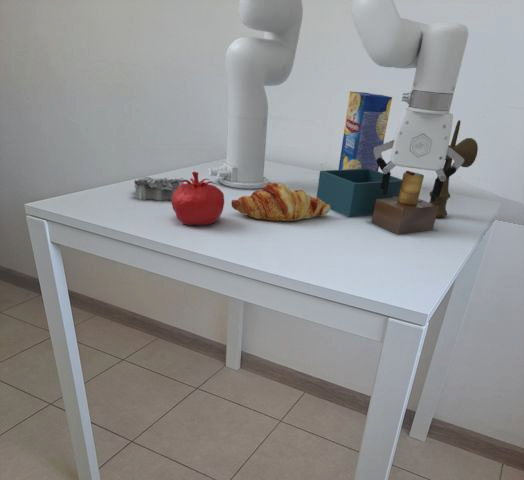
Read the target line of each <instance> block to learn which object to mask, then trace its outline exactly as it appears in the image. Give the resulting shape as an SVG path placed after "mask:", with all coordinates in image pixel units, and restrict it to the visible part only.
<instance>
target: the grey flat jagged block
mask: <svg viewBox="0 0 524 480" xmlns="http://www.w3.org/2000/svg"><path fill="white" fill-rule="evenodd" d="M179 180H180V181H182V180H185V179H184V177H181V178H174V179H173V178H170V179H168V178H167V177H164V178H153V177H149V176H142V177H140V178H138V179H136V180H134V190H135V199H139V200H142V201H146V200H156V201H164V200H169V201H172V196H173V193H174V191H175V190H176V189H177V187H178V186H180V185H182V184H185V182H180V181H179Z"/></svg>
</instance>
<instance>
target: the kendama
mask: <svg viewBox="0 0 524 480" xmlns="http://www.w3.org/2000/svg"><path fill="white" fill-rule="evenodd" d="M460 127H461V120H460V119H459V120H457V122H456V125H455V127H454V131H453V135H452V138H451V142H450V144H449V145H448V147H450V148H451V149H452V150H454V151H455V152H456V153H458V154H459V155H460V156H462V157H463V158H464V163H463V164H462V165H461V166H460V167H462V168H469V167H471V166H472V165H473V164H474V163H475V161H476V158H477V156H478V151H479V146H478V142H477V141H476V140H475V139H474V138H472V137H466V138H465V139H463V140H461V141H460V142H458V143H457V140H458V137H459V133H460ZM452 165H453V159H452V158H450V157H449V156H448V155H446V159H445V162H444V165H443V167H442V169H443V171H445V170H447V169H448V168H449V167H451V166H452ZM449 184H450V177H448V178H447V179H446V180H445V181H443V185H442V189H441V192H440V196H439V197H436V199H435V202H434V201H432V200H431V195H432V191H433V190H431V191H430V192H429V197H430V200H429V203H432V204H435V205H437V206H439V208H438V212H437V215H436V218H444V217H446V216H447V215H448V211H447V202H448V200H449V199H451V194H450V192H449Z"/></svg>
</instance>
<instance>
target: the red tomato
mask: <svg viewBox="0 0 524 480" xmlns="http://www.w3.org/2000/svg"><path fill="white" fill-rule="evenodd" d="M191 173H192V176H193V177H190V178H189V180H188V179H184V180H182V181H180V180H179V181H180V182H184V184H182V185H180V186H178V187H177V189H176V190H175V191H174V193H173V196H172V200H171V206H172V210H173V211H174V213H175V216H176V218H177V220H178V221H179V222H180V223H181V224H184V225H189V226H202V225H203V226H205V225H212V224H214V223H215V222H217V221H218V220H219V219H220V217H221V215H222V213H223V211H224V207H225V194H224V192H223V191H222V190H221V189H220V188H219V187H217V186H216V183H215V182H213V181H210V179H208V178H204V179H201V180H200V181H199V172H197V171H192V172H191Z"/></svg>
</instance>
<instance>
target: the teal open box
mask: <svg viewBox="0 0 524 480" xmlns="http://www.w3.org/2000/svg"><path fill="white" fill-rule="evenodd" d="M382 178H383V172H382V171H379V170H378V171H375V170H372V169H369V168H368V169H347V170H338V169H327V170H326V169H325V170H319V175H318V182H317V183H318V184H317V190H316V198H319V199H320V200H322V201H323V202H324V203H325V204H329V205H330V209H331V210H333V211H336V212H338V213H340V214H342V215H344V216H346V217H348V218H352V217H362V216H373V213H374V208H375V202H376V199H382V198H393V196H395V197H399V192H400V187H401V183H402V178H398V177H396V176H393V175H390V179H389V184H388V189H387V194H385V195H384V194H383V191H384V189H380V188H381V183H382Z"/></svg>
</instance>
